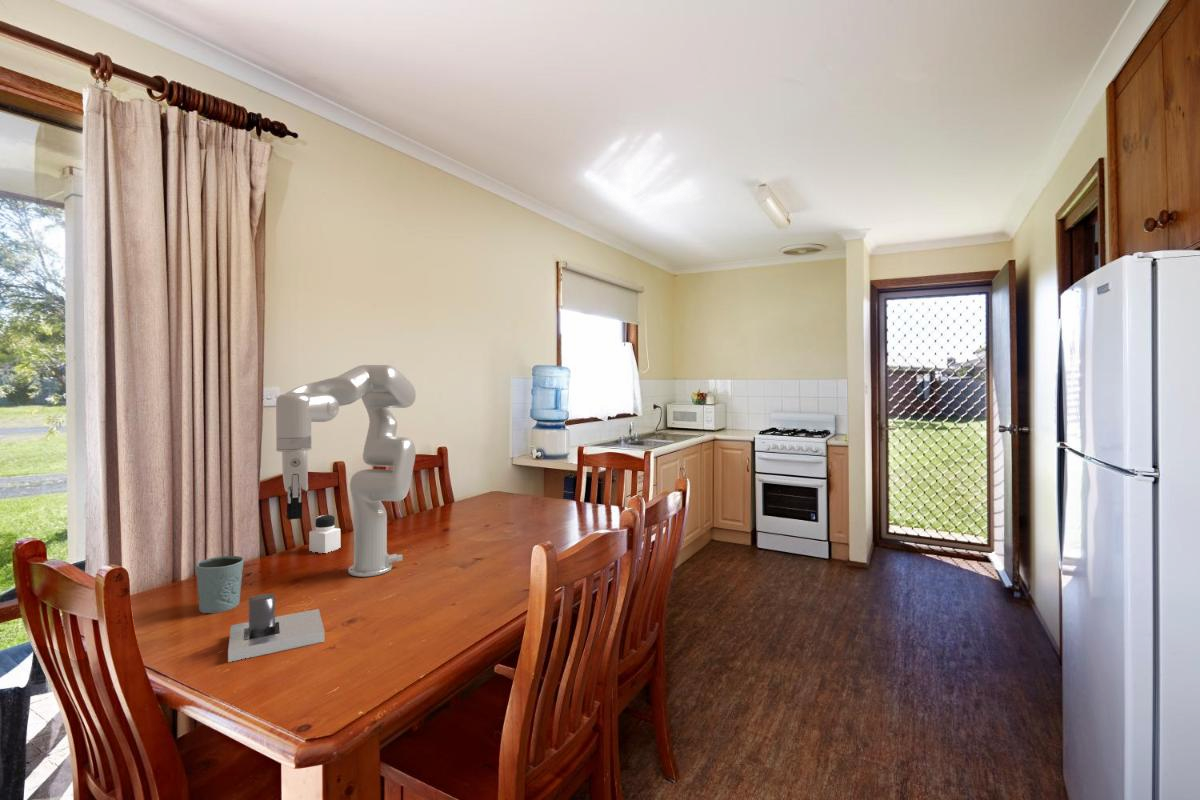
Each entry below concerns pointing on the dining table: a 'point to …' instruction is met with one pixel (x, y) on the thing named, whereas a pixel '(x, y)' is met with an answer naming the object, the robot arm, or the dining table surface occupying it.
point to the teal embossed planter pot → (219, 583)
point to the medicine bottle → (325, 535)
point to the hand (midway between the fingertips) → (294, 518)
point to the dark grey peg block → (261, 616)
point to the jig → (277, 635)
